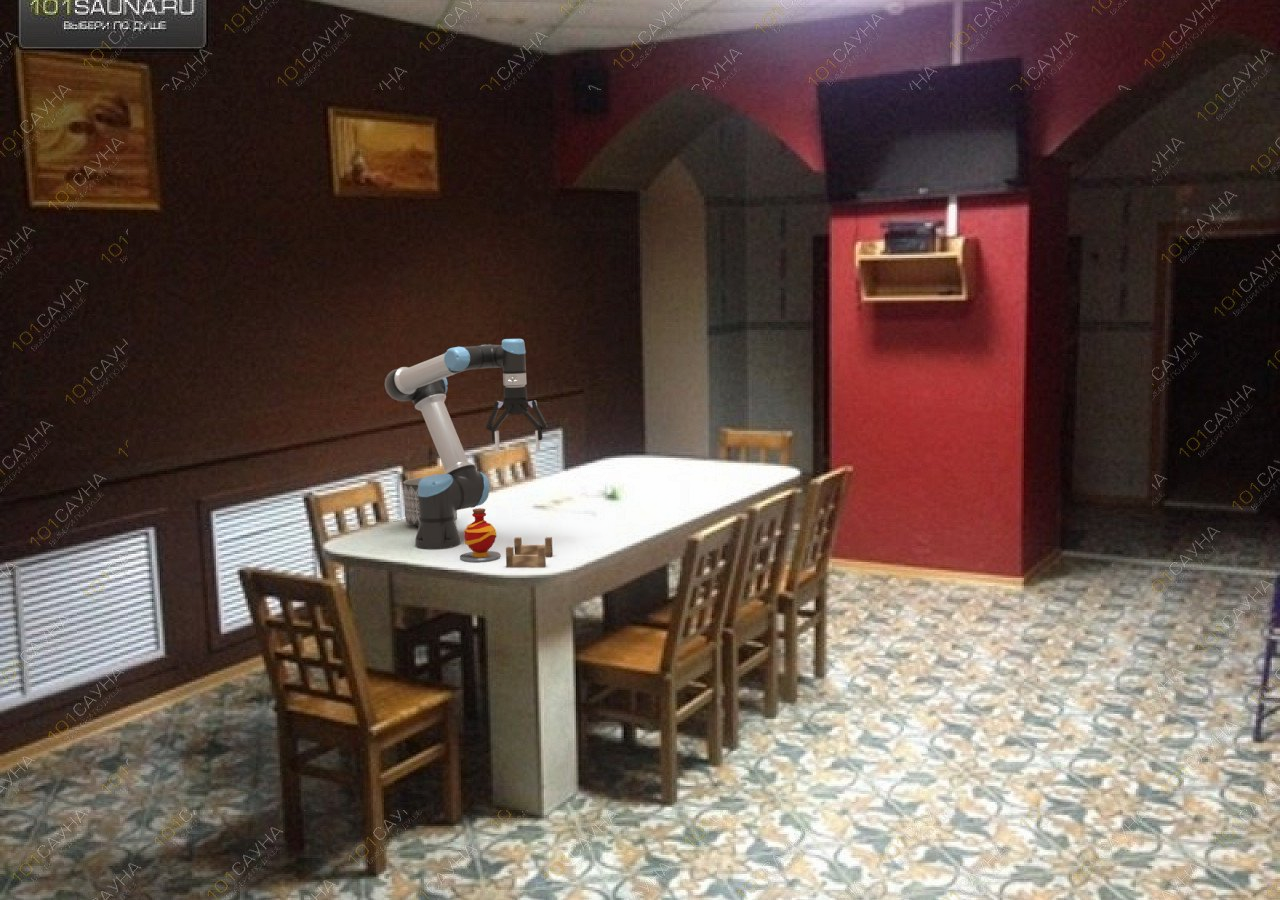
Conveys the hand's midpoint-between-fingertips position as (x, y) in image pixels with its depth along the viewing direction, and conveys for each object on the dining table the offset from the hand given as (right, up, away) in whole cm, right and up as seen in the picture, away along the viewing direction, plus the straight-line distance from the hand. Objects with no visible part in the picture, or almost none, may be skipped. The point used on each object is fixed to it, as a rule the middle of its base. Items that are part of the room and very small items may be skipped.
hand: (517, 450), depth 385 cm
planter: (-37, -28, +46) cm, 65 cm away
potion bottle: (-11, -34, -10) cm, 37 cm away
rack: (+6, -35, -16) cm, 39 cm away
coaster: (-11, -35, -10) cm, 37 cm away
